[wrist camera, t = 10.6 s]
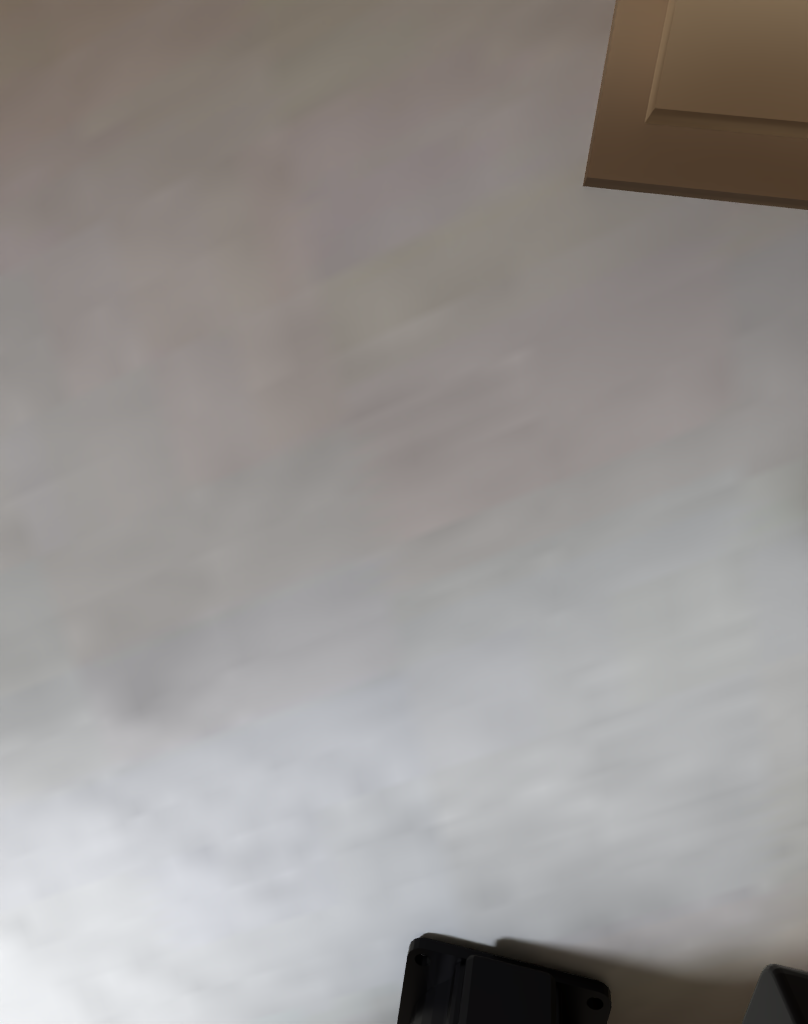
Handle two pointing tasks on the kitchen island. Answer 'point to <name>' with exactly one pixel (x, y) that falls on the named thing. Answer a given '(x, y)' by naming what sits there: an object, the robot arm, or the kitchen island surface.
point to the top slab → (733, 67)
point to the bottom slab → (679, 133)
